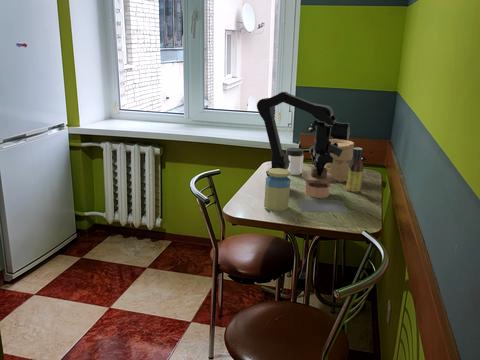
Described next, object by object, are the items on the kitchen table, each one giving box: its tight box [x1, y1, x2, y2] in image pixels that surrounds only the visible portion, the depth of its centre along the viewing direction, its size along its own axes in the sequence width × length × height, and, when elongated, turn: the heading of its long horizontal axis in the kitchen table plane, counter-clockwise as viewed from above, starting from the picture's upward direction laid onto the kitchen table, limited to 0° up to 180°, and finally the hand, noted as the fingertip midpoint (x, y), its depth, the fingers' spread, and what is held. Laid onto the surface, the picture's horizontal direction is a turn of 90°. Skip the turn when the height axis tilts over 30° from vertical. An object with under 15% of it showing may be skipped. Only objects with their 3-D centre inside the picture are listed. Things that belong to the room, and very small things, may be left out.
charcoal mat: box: [296, 198, 350, 214], centre depth 172 cm, size 18×14×1 cm
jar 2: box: [285, 147, 304, 176], centre depth 218 cm, size 9×8×12 cm
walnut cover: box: [301, 166, 337, 185], centre depth 184 cm, size 12×12×5 cm
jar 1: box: [263, 167, 291, 212], centre depth 166 cm, size 9×9×15 cm
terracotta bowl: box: [304, 182, 331, 199], centre depth 186 cm, size 10×10×5 cm
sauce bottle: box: [345, 147, 364, 194], centre depth 190 cm, size 6×6×20 cm
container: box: [324, 138, 355, 183], centre depth 211 cm, size 13×13×18 cm
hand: (318, 174), depth 184 cm, fingers closed on walnut cover, 3 cm apart
